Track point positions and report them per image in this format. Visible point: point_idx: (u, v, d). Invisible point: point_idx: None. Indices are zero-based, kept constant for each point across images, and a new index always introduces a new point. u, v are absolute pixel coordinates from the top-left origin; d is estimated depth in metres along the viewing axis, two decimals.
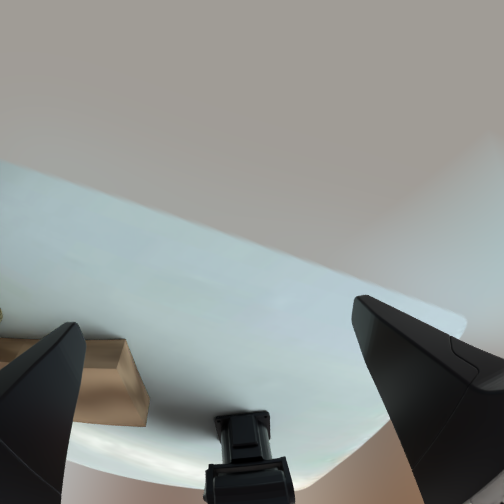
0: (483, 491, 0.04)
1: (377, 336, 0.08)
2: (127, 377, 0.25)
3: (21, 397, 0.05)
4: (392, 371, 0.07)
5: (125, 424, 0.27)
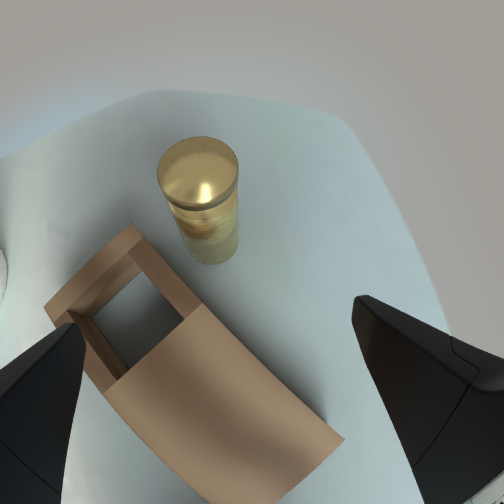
0: (483, 491, 0.04)
1: (377, 336, 0.08)
2: None
3: (20, 397, 0.05)
4: (392, 371, 0.07)
5: None
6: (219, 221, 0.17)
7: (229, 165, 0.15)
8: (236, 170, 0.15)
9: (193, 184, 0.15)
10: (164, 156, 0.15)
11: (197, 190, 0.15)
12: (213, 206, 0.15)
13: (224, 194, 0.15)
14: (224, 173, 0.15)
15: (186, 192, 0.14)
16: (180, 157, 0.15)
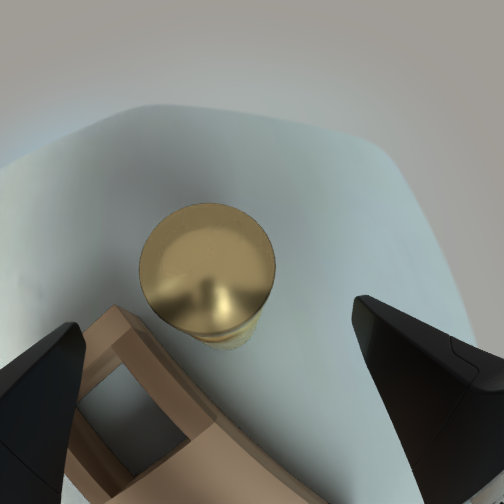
0: (483, 491, 0.04)
1: (377, 336, 0.08)
2: None
3: (20, 397, 0.05)
4: (392, 371, 0.07)
5: None
6: (239, 333, 0.11)
7: (261, 262, 0.09)
8: (273, 272, 0.09)
9: (200, 298, 0.09)
10: (150, 237, 0.09)
11: (208, 308, 0.09)
12: (234, 331, 0.09)
13: (253, 316, 0.09)
14: (253, 278, 0.09)
15: (189, 313, 0.09)
16: (176, 243, 0.09)
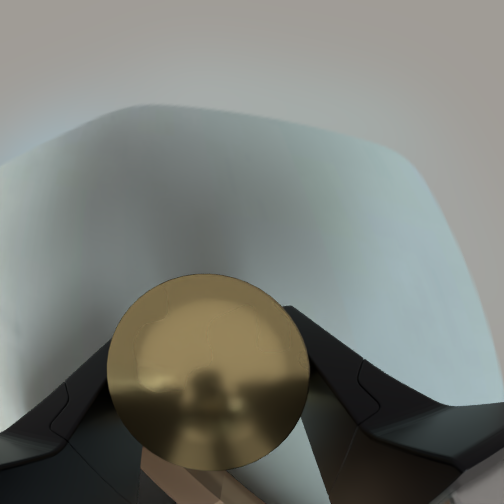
0: None
1: None
2: None
3: (100, 406, 0.06)
4: None
5: None
6: None
7: (289, 373, 0.06)
8: (306, 386, 0.06)
9: (198, 426, 0.05)
10: (120, 327, 0.06)
11: (210, 438, 0.05)
12: None
13: None
14: (277, 398, 0.05)
15: (183, 446, 0.05)
16: (158, 341, 0.06)
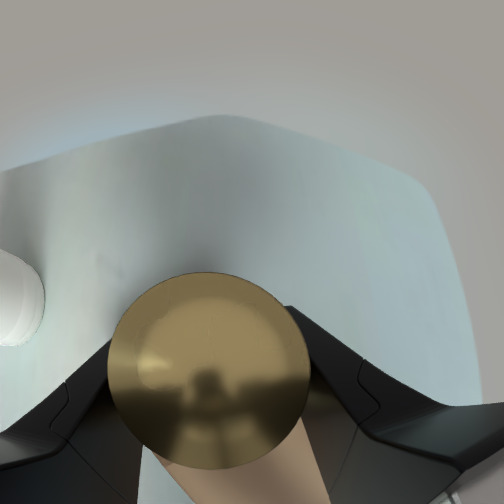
0: None
1: None
2: None
3: (100, 406, 0.06)
4: None
5: None
6: None
7: (289, 371, 0.06)
8: (307, 384, 0.06)
9: (199, 425, 0.05)
10: (120, 325, 0.06)
11: (211, 436, 0.05)
12: None
13: None
14: (277, 396, 0.05)
15: (184, 444, 0.05)
16: (159, 339, 0.06)
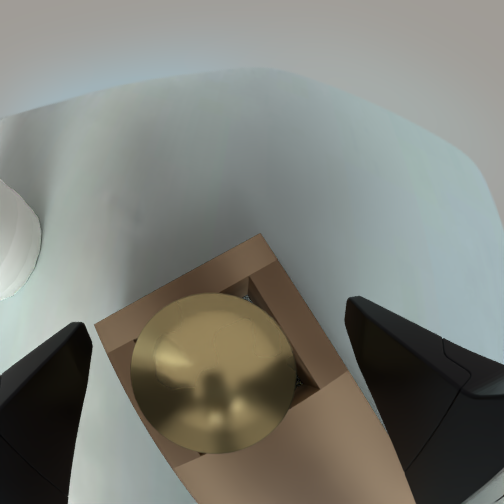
0: (475, 496, 0.04)
1: (369, 338, 0.08)
2: None
3: (27, 398, 0.05)
4: (384, 373, 0.07)
5: None
6: None
7: (279, 373, 0.07)
8: (293, 384, 0.07)
9: (206, 417, 0.07)
10: (141, 336, 0.07)
11: (216, 426, 0.07)
12: None
13: None
14: (269, 393, 0.07)
15: (194, 433, 0.06)
16: (174, 348, 0.07)
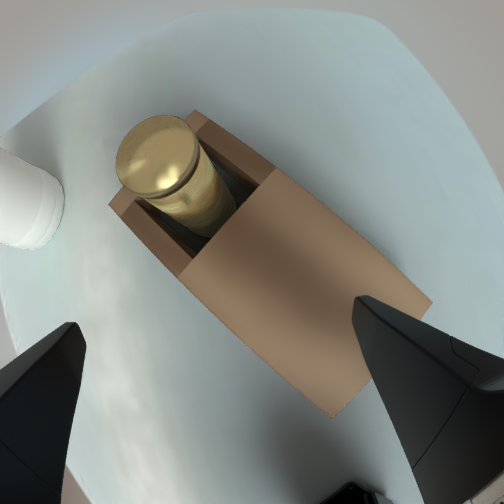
0: (483, 491, 0.04)
1: (377, 336, 0.08)
2: None
3: (20, 397, 0.05)
4: (392, 371, 0.07)
5: (309, 393, 0.16)
6: (198, 195, 0.16)
7: (184, 137, 0.13)
8: (193, 139, 0.13)
9: (154, 171, 0.13)
10: (119, 153, 0.14)
11: (160, 175, 0.13)
12: (182, 185, 0.14)
13: (188, 169, 0.13)
14: (181, 147, 0.13)
15: (149, 182, 0.13)
16: (134, 148, 0.13)
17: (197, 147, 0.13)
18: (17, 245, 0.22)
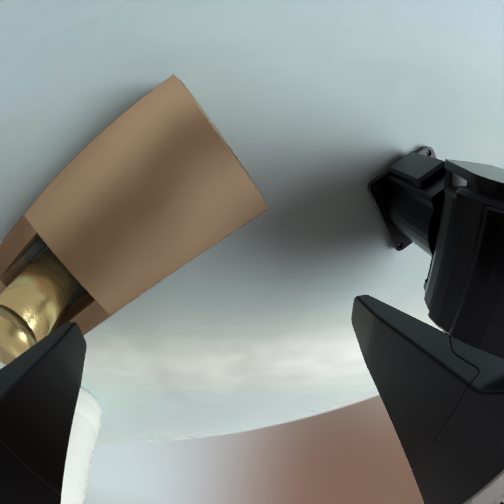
0: (483, 491, 0.04)
1: (377, 336, 0.08)
2: (201, 110, 0.16)
3: (20, 397, 0.05)
4: (392, 371, 0.07)
5: (232, 225, 0.17)
6: (37, 301, 0.15)
7: None
8: None
9: (16, 345, 0.13)
10: None
11: (18, 341, 0.13)
12: (25, 323, 0.13)
13: (12, 320, 0.12)
14: None
15: (24, 350, 0.13)
16: (3, 354, 0.13)
17: None
18: (97, 426, 0.26)
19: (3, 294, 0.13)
